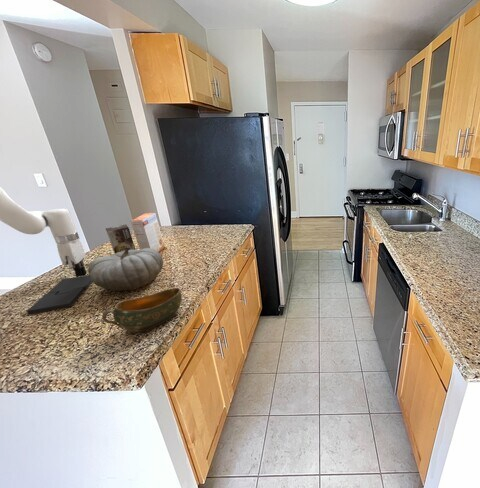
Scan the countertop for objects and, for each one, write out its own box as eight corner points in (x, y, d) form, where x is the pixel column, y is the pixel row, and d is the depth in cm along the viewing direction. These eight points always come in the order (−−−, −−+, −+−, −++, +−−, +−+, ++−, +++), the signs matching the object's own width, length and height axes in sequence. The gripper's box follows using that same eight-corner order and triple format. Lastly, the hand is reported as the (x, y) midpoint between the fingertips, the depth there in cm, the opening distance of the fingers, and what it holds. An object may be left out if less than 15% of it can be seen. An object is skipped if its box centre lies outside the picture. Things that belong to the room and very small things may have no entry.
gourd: (150, 292, 101) (132, 250, 96) (83, 307, 99) (61, 266, 94) (176, 268, 125) (163, 234, 120) (123, 280, 123) (107, 246, 118)
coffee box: (135, 251, 145) (126, 224, 139) (137, 255, 140) (129, 226, 134) (114, 256, 139) (105, 227, 133) (116, 260, 134) (106, 230, 128)
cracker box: (154, 248, 149) (144, 212, 141) (165, 247, 150) (156, 212, 142) (141, 258, 136) (129, 220, 128) (153, 257, 137) (142, 219, 129)
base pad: (28, 314, 93) (26, 310, 92) (47, 296, 103) (45, 293, 103) (70, 306, 97) (69, 303, 96) (84, 290, 107) (83, 287, 107)
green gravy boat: (122, 317, 91) (113, 292, 87) (185, 305, 98) (180, 281, 94) (109, 342, 80) (98, 315, 76) (181, 326, 86) (174, 301, 83)
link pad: (45, 299, 101) (43, 296, 101) (63, 282, 114) (62, 279, 113) (83, 293, 106) (82, 290, 105) (97, 277, 118) (95, 274, 117)
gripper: (64, 233, 116) (79, 269, 123) (45, 245, 104) (63, 284, 110) (85, 231, 119) (98, 267, 126) (69, 242, 106) (85, 281, 113)
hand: (82, 275), depth 118 cm, fingers closed
